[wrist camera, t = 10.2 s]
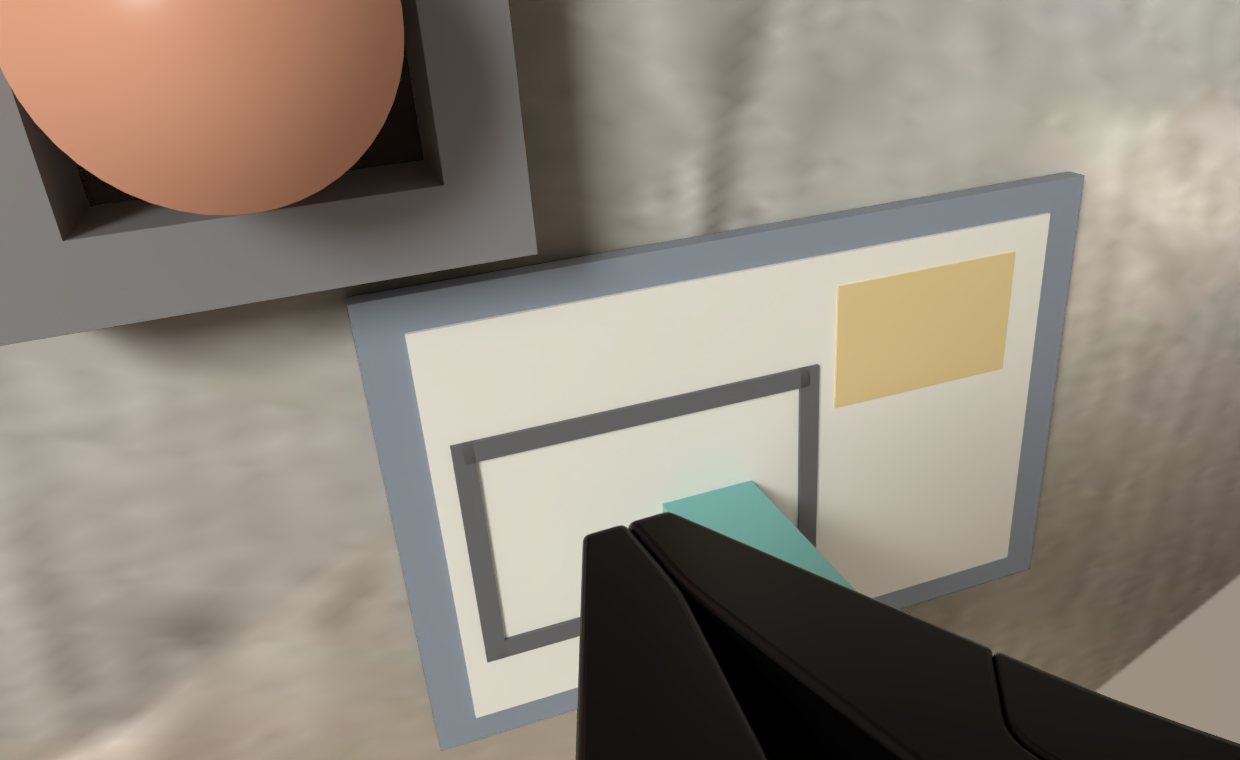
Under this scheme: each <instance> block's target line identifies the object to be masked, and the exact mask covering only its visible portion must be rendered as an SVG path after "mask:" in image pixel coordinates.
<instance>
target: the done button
mask: <svg viewBox="0 0 1240 760" xmlns="http://www.w3.org/2000/svg"><path fill="white" fill-rule="evenodd" d="M403 58H404V24H403V14H402V5H401V1H400V0H0V68H1V70H2V72H3V74H4V76H5V78H6V79H7V81H8V83H9V85H10V87H11V88H12V90H13V92H14V94H15V95H16V97H17V99H18V100H19V102H20V103H21V104H22V106H23V107H24V108H25V110H26V111H27V112H28V114H29V115H30V117H31V118H32V119H33V121H34V122H35V123H36V124H37V125H38V126H39V128H40V129H41V130H42V131H43V132H44V133H45V134H46V135H47V136H48V137H49V138H50V139H51V140H52V142H53V143H54V144H55V145H56V146H58V147H59V148H60V149H61V150H62V151H63V152H65V153H66V154H67V155H68V156H69V157H70V158H71V159H73V160H74V161H75V162H76V163H77V164H79V165H80V166H82V167H83V168H85V169H86V170H87V171H89V172H90V173H92V174H93V175H95V176H96V177H98V178H99V179H101V180H102V181H104V182H106V183H108V184H110V185H112V186H114V187H115V188H117V189H119V190H121V191H123V192H125V193H127V194H129V195H132V196H134V197H137V198H139V199H142V200H144V201H147V202H149V203H152V204H156V205H159V206H163V207H167V208H170V209H174V210H178V211H184V212H190V213H197V214H203V215H229V216H230V215H241V214H253V213H259V212H263V211H268V210H273V209H277V208H280V207H283V206H286V205H289V204H292V203H295V202H298V201H300V200H302V199H304V198H306V197H308V196H310V195H312V194H314V193H316V192H318V191H320V190H322V189H323V188H325V187H326V186H328V185H329V184H331V183H332V182H334V181H335V180H337V179H338V178H339V177H341V176H342V175H343V174H344V173H345V172H346V171H347V170H348V169H349V168H351V167H352V166H353V165H354V164H355V163H356V162H357V161H358V160H359V159H360V157H361V156H362V155H363V154H364V153H365V151H366V150H367V149H368V148H369V147H370V145H371V144H372V143H373V141H374V139H375V138H376V136H377V135H378V133H379V131H380V130H381V128H382V127H383V125H384V123H385V121H386V118H387V116H388V114H389V112H390V109H391V107H392V105H393V102H394V99H395V96H396V92H397V89H398V85H399V82H400V77H401V70H402V64H403Z"/></svg>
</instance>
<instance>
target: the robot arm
mask: <svg viewBox="0 0 1240 760" xmlns="http://www.w3.org/2000/svg"><path fill="white" fill-rule="evenodd" d="M576 760H1240V744H1238V743H1235V742H1232V741H1229V740H1226V739H1223V738H1221V737H1218V736H1215V735H1212V734H1209V733H1206V732H1203V731H1200V730H1197V729H1194V728H1192V727H1189V726H1186V725H1183V724H1180V723H1178V722H1175V721H1172V720H1170V719H1167V718H1164V717H1161V716H1158V715H1156V714H1153V713H1150V712H1147V711H1145V710H1142V709H1139V708H1136V707H1134V706H1131V705H1128V704H1125V703H1122V702H1119V701H1117V700H1114V699H1112V698H1109V697H1107V696H1104V695H1101V694H1099V693H1097V692H1094V691H1092V690H1089V689H1087V688H1084V687H1082V686H1079V685H1077V684H1075V683H1072V682H1070V681H1067V680H1065V679H1062V678H1060V677H1057V676H1055V675H1052V674H1050V673H1047V672H1045V671H1042V670H1040V669H1038V668H1035V667H1033V666H1031V665H1028V664H1026V663H1024V662H1021V661H1019V660H1017V659H1014V658H1012V657H1010V656H1007V655H1005V654H1003V653H996V654H994V656H993V655H992V651H991V650H990V649H989V648H988V647H985V646H983V645H981V644H978V643H976V642H974V641H971V640H969V639H967V638H964V637H962V636H960V635H957V634H955V633H953V632H950V631H948V630H946V629H943V628H941V627H939V626H936V625H934V624H932V623H929V622H927V621H925V620H922V619H920V618H918V617H915V616H913V615H911V614H908V613H906V612H904V611H901V610H899V609H897V608H894V607H892V606H890V605H887V604H885V603H883V602H880V601H878V600H876V599H873V598H871V597H869V596H866V595H864V594H862V593H859V592H857V591H855V590H852V589H850V588H848V587H845V586H843V585H841V584H838V583H836V582H834V581H831V580H829V579H827V578H824V577H822V576H820V575H817V574H815V573H813V572H810V571H808V570H806V569H803V568H801V567H799V566H796V565H794V564H792V563H789V562H787V561H785V560H782V559H780V558H778V557H775V556H773V555H771V554H768V553H766V552H763V551H761V550H759V549H756V548H754V547H752V546H749V545H747V544H745V543H742V542H740V541H738V540H735V539H733V538H731V537H728V536H726V535H724V534H721V533H719V532H717V531H714V530H712V529H710V528H707V527H705V526H703V525H700V524H698V523H696V522H693V521H691V520H689V519H686V518H684V517H682V516H679V515H677V514H674V513H671V512H663V513H660V514H656V515H653V516H650V517H646V518H643V519H639V520H636V521H633V522H631V523H630V525H629V527H628V528H627V527H626V526H623V525H619V526H615V527H612V528H608V529H605V530H601V531H598V532H594V533H591V534H588V535H586V536H585V537H584V539H583V547H582V578H581V609H580V640H579V672H578V703H577V734H576Z"/></svg>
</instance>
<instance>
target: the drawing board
mask: <svg viewBox="0 0 1240 760" xmlns="http://www.w3.org/2000/svg"><path fill="white" fill-rule="evenodd" d="M1083 182H1084V175H1081V174H1077V173H1073V172H1064V173H1059V174H1053V175H1047V176H1041V177H1036V178H1030V179H1024V180H1018V181H1013V182H1007V183H1001V184H995V185H990V186H984V187H978V188H972V189H967V190H961V191H955V192H949V193H944V194H938V195H932V196H926V197H921V198H915V199H909V200H904V201H898V202H892V203H886V204H881V205H875V206H869V207H863V208H858V209H852V210H846V211H840V212H835V213H829V214H823V215H817V216H812V217H806V218H800V219H794V220H789V221H783V222H777V223H771V224H766V225H760V226H754V227H748V228H743V229H737V230H731V231H725V232H720V233H714V234H708V235H702V236H697V237H691V238H685V239H679V240H674V241H668V242H662V243H656V244H651V245H645V246H639V247H634V248H628V249H622V250H616V251H611V252H605V253H599V254H593V255H588V256H582V257H576V258H570V259H565V260H559V261H553V262H547V263H542V264H536V265H530V266H524V267H519V268H513V269H507V270H501V271H496V272H490V273H484V274H478V275H473V276H467V277H461V278H455V279H450V280H444V281H438V282H432V283H427V284H421V285H415V286H409V287H404V288H398V289H392V290H386V291H381V292H375V293H369V294H364V295H358V296H352V297H346V298H345V300H346V304H347V309H348V314H349V319H350V323H351V328H352V333H353V338H354V342H355V347H356V352H357V357H358V361H359V366H360V371H361V376H362V380H363V385H364V390H365V394H366V399H367V404H368V409H369V413H370V418H371V423H372V428H373V432H374V437H375V442H376V447H377V451H378V456H379V461H380V466H381V470H382V475H383V480H384V485H385V489H386V494H387V499H388V503H389V508H390V513H391V518H392V522H393V527H394V532H395V537H396V541H397V546H398V551H399V556H400V560H401V565H402V570H403V575H404V579H405V584H406V589H407V593H408V598H409V603H410V608H411V612H412V617H413V622H414V627H415V631H416V636H417V641H418V646H419V650H420V655H421V660H422V665H423V669H424V674H425V679H426V683H427V688H428V693H429V698H430V702H431V707H432V712H433V717H434V721H435V726H436V731H437V736H438V740H439V745H440V749H441V751H443V750H446V749H449V748H452V747H456V746H459V745H462V744H465V743H469V742H472V741H475V740H478V739H482V738H485V737H488V736H491V735H494V734H498V733H501V732H504V731H507V730H511V729H514V728H517V727H520V726H524V725H527V724H530V723H533V722H536V721H540V720H543V719H546V718H549V717H553V716H556V715H559V714H562V713H566V712H569V711H572V710H575V709H577V703H578V672H579V640H580V609H581V578H582V547H583V539H584V537H585V536H586V535H588V534H591V533H594V532H598V531H601V530H605V529H608V528H612V527H615V526H619V525H623V526H626V527H627V528H628V527H629V525H630V523H631V522H633V521H636V520H639V519H643V518H646V517H650V516H653V515H656V514H660V513H663V507H662V504H663V503H667V502H671V501H674V500H678V499H682V498H686V497H690V496H694V495H697V494H701V493H705V492H709V491H713V490H716V489H720V488H724V487H728V486H732V485H735V484H739V483H743V482H747V481H751V480H752V481H753V482H754V483H755V485H756V486H757V487H758V488H759V489H760V490H761V491H762V492H763V493H764V494H765V495H766V496H767V497H768V498H769V499H770V500H771V501H772V502H773V504H774V505H775V506H776V507H777V508H778V509H779V510H780V511H781V512H782V513H783V514H784V515H785V516H786V517H787V518H788V519H789V520H790V521H791V523H792V524H793V525H794V526H795V527H796V528H797V529H798V530H799V531H800V532H801V533H802V534H803V535H804V536H805V537H806V538H807V539H808V540H809V542H810V543H811V544H812V545H813V546H814V547H815V548H816V549H817V550H818V551H819V552H820V553H821V554H822V555H823V556H824V557H825V558H826V559H827V561H828V562H829V563H830V564H831V565H832V566H833V567H834V568H835V569H836V570H837V571H838V572H839V573H840V574H841V575H842V576H843V577H844V578H845V580H846V581H847V582H848V583H849V584H850V585H851V586H852V587H853V588H854V589H855V590H856V591H857V592H859V593H862V594H864V595H866V596H869V597H871V598H873V599H876V600H878V601H880V602H883V603H885V604H887V605H890V606H892V607H894V608H897V609H901V608H905V607H908V606H911V605H914V604H918V603H921V602H924V601H927V600H931V599H934V598H937V597H940V596H943V595H947V594H950V593H953V592H956V591H960V590H963V589H966V588H969V587H972V586H976V585H979V584H982V583H985V582H989V581H992V580H995V579H998V578H1002V577H1005V576H1008V575H1011V574H1014V573H1018V572H1021V571H1024V570H1027V569H1030V563H1031V556H1032V549H1033V542H1034V535H1035V527H1036V520H1037V513H1038V506H1039V499H1040V491H1041V484H1042V477H1043V470H1044V463H1045V455H1046V448H1047V441H1048V434H1049V427H1050V419H1051V412H1052V405H1053V398H1054V391H1055V384H1056V376H1057V369H1058V362H1059V355H1060V348H1061V340H1062V333H1063V326H1064V319H1065V312H1066V304H1067V297H1068V290H1069V283H1070V276H1071V268H1072V261H1073V254H1074V247H1075V240H1076V232H1077V225H1078V218H1079V211H1080V204H1081V197H1082V189H1083Z"/></svg>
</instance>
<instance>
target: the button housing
mask: <svg viewBox="0 0 1240 760" xmlns="http://www.w3.org/2000/svg"><path fill="white" fill-rule="evenodd" d="M400 1H401V5H402V14H403V24H404V41H405V47H406V54H407V60H408V66H409V72H410V78H411V84H412V91H413V97H414V103H415V109H416V115H417V121H418V128H419V134H420V140H421V146H422V152H423V158H424V160H420V161H413V162H406V163H399V164H391V165H384V166H377V167H370V168H362V169H355V170H348V171H346V172H345V173H344V174H343V175H342V176H341V177H339V178H338V179H337V180H335V181H334V182H332V183H331V184H329V185H328V186H326V187H325V188H323V189H322V190H320V191H318V192H316V193H314V194H312V195H310V196H308V197H306V198H304V199H302V200H300V201H298V202H295V203H292V204H289V205H286V206H283V207H280V208H277V209H273V210H268V211H263V212H259V213H253V214H241V215H230V216H229V215H203V214H197V213H190V212H184V211H178V210H174V209H170V208H167V207H163V206H159V205H156V204H152V203H149V202H147V201H144V200H142V199H139V200H131V201H124V202H117V203H110V204H102V205H95V206H89V203H88V200H87V197H86V194H85V190H84V187H83V184H82V181H81V178H80V175H79V172H78V169H77V165H76V162H75V161H74V160H73V159H71V158H70V157H69V156H68V155H67V154H66V153H65V152H63V151H62V150H61V149H60V148H59V147H58V146H56V145H55V144H54V143H53V142H52V140H51V139H50V138H49V137H48V136H47V135H46V134H45V133H44V132H43V131H42V130H41V129H40V128H39V126H38V125H37V124H36V123H35V122H34V121H33V119H32V118H31V117H30V115H29V114H28V112H27V111H26V110H25V108H24V107H23V106H22V104H21V103H20V102H19V100H18V99H17V97H16V95H15V94H14V92H13V90H12V88H11V87H10V85H9V83H8V81H7V79H6V78H5V76H4V74H3V72H2V70H1V68H0V346H3V345H9V344H15V343H21V342H27V341H32V340H38V339H44V338H50V337H56V336H62V335H68V334H73V333H79V332H85V331H91V330H97V329H103V328H108V327H114V326H120V325H126V324H132V323H138V322H143V321H149V320H155V319H161V318H167V317H173V316H179V315H184V314H190V313H196V312H202V311H208V310H214V309H219V308H225V307H231V306H237V305H243V304H249V303H255V302H260V301H266V300H272V299H278V298H284V297H290V296H295V295H301V294H307V293H313V292H319V291H325V290H331V289H336V288H342V287H348V286H354V285H360V284H366V283H371V282H377V281H383V280H389V279H395V278H401V277H407V276H412V275H418V274H424V273H430V272H436V271H442V270H447V269H453V268H459V267H465V266H471V265H477V264H483V263H488V262H494V261H500V260H506V259H512V258H518V257H523V256H529V255H535V254H538V253H537V244H536V236H535V227H534V218H533V210H532V201H531V192H530V184H529V175H528V166H527V158H526V149H525V140H524V131H523V123H522V114H521V105H520V97H519V88H518V79H517V71H516V62H515V53H514V45H513V36H512V27H511V19H510V10H509V1H508V0H400Z"/></svg>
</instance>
